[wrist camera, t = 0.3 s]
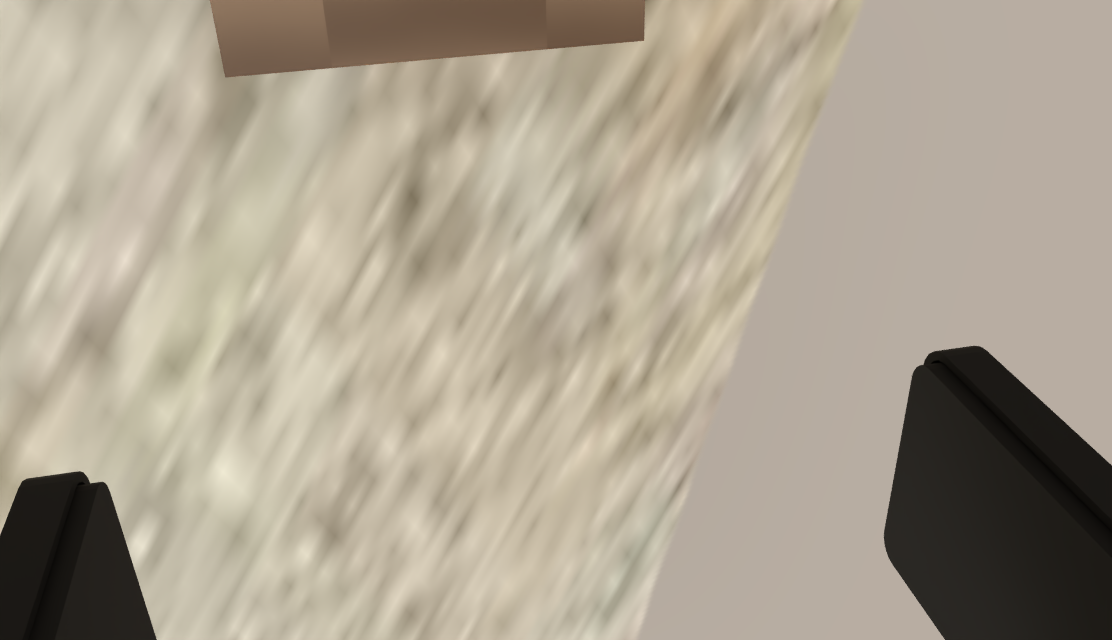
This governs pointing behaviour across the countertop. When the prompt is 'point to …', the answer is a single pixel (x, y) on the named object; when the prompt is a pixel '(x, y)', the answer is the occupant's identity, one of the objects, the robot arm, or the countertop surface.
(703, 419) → the countertop surface
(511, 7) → the socket block
